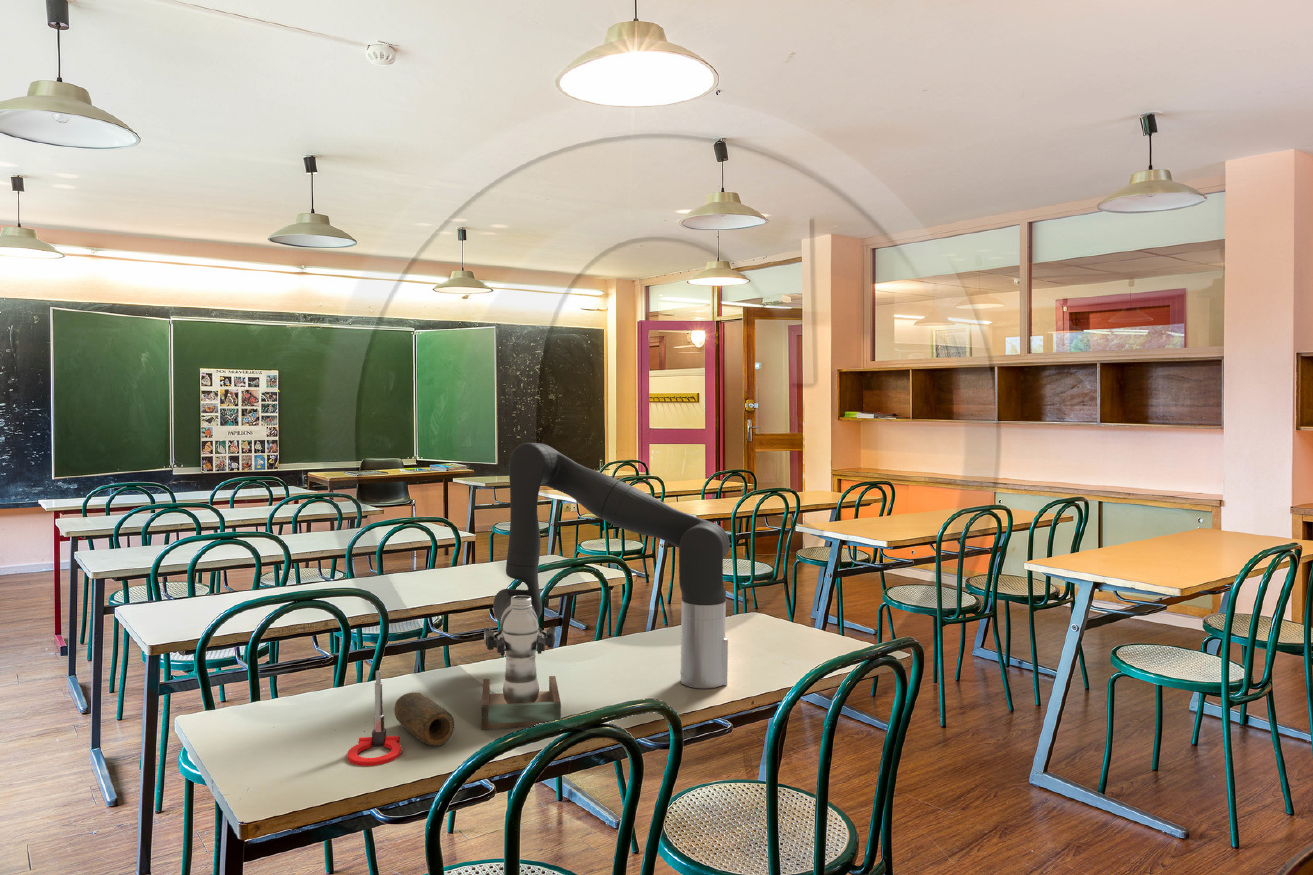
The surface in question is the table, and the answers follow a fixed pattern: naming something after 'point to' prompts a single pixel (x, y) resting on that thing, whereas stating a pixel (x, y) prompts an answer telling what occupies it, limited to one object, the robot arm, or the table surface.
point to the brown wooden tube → (424, 718)
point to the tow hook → (376, 736)
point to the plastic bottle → (520, 652)
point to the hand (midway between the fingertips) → (521, 649)
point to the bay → (519, 709)
